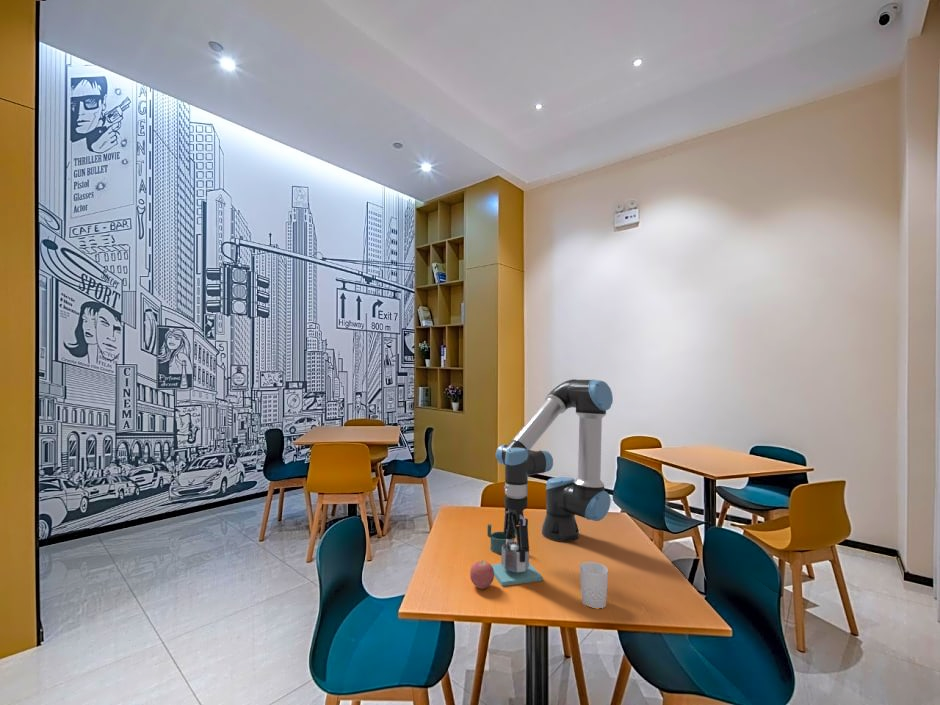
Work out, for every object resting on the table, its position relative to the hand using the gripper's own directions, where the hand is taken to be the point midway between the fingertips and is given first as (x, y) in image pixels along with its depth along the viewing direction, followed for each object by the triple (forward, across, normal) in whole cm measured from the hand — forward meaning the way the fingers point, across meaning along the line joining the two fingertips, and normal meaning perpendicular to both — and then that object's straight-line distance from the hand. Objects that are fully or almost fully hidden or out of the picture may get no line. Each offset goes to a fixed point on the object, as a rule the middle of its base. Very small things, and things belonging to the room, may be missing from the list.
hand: (515, 564), depth 136 cm
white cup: (+3, +22, +15) cm, 27 cm away
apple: (+3, +5, -13) cm, 15 cm away
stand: (+3, 0, 0) cm, 3 cm away
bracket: (+3, -20, +3) cm, 20 cm away
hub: (0, 0, 0) cm, 0 cm away
